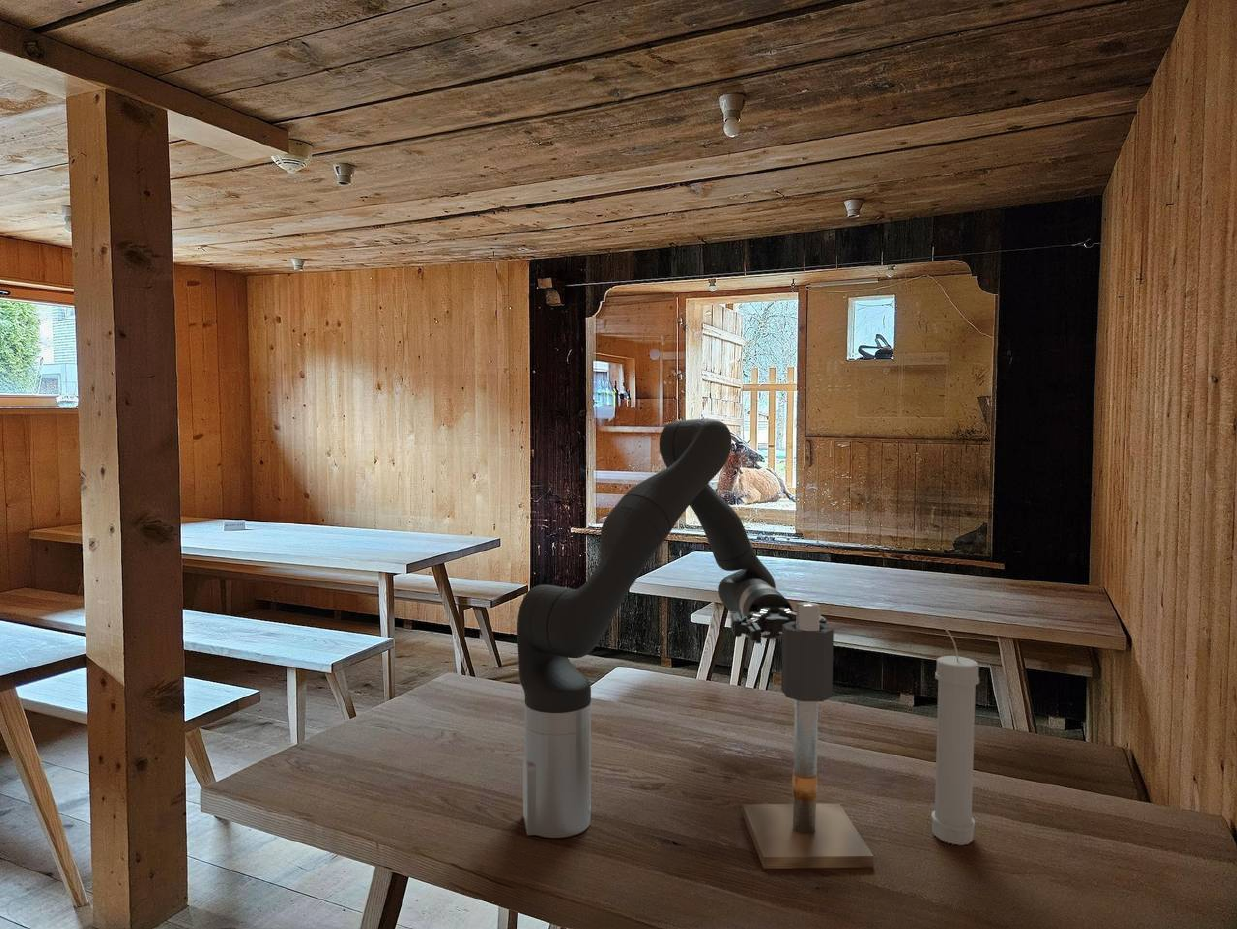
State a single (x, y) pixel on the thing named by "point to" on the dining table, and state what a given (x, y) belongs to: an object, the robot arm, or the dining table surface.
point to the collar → (807, 662)
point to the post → (805, 802)
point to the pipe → (955, 748)
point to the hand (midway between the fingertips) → (787, 636)
